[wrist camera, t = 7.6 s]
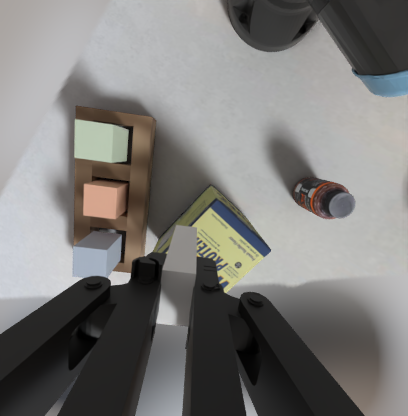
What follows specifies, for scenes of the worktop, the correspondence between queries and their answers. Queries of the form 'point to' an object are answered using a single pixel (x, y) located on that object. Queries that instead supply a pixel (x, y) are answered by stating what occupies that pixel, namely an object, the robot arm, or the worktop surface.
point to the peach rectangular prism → (105, 198)
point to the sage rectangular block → (100, 141)
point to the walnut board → (134, 172)
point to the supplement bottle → (324, 198)
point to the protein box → (220, 237)
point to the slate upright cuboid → (96, 254)
